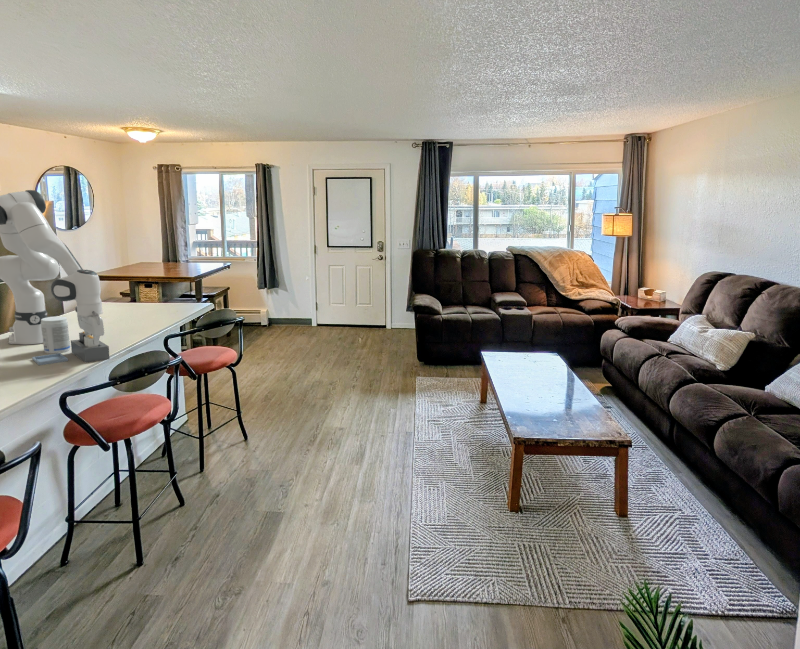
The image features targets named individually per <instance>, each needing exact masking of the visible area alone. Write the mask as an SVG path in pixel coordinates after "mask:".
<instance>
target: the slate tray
mask: <svg viewBox="0 0 800 649" xmlns="http://www.w3.org/2000/svg"><path fill="white" fill-rule="evenodd" d="M31 360H32V361H34V362H35V363H36V364H37V365H38V366H43V365H44V366H45V365H50V364H57V363H63V362H68V361H69V358H68V357H67V356H65V355H64V354H63V353H54V354H51V353H50V354H45V355H44V354H43V355H38V356H32V357H31Z"/></svg>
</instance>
